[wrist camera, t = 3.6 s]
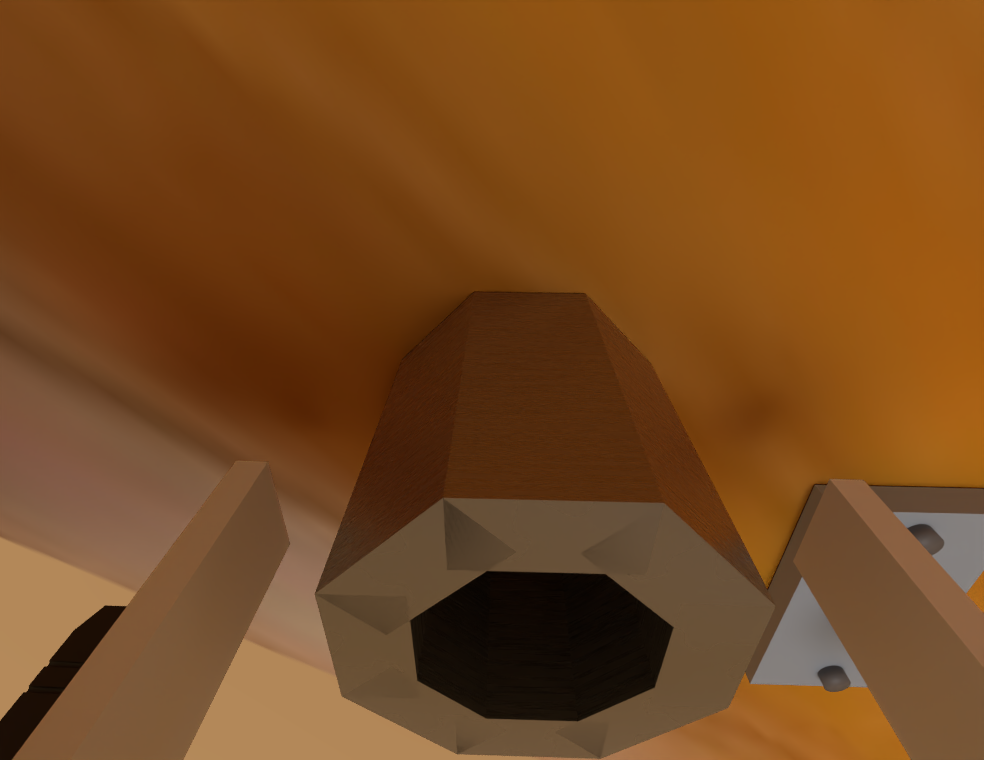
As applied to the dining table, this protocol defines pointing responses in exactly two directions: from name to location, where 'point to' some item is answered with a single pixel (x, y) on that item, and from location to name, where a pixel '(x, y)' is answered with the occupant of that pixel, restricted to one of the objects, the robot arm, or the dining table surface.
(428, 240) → the dining table surface
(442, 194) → the dining table surface
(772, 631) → the shaft stand
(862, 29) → the dining table surface
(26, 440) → the dining table surface
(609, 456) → the tube
